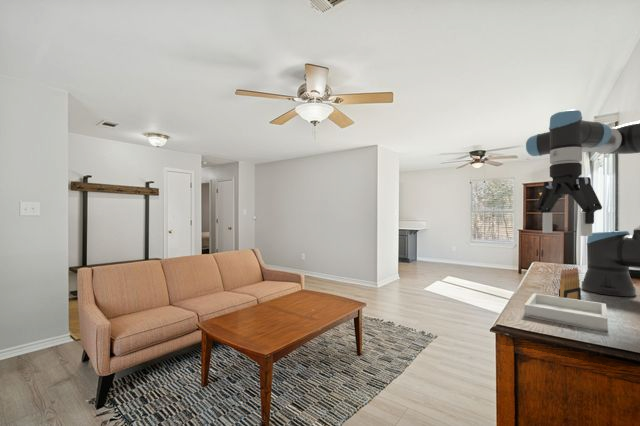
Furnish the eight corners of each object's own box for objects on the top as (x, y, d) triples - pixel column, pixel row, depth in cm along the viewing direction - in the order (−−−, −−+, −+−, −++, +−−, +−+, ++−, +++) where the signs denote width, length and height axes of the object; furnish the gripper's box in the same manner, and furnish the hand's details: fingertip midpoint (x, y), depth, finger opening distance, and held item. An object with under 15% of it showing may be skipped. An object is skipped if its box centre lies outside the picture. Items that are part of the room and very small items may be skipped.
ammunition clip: (564, 306, 101) (564, 270, 101) (558, 304, 103) (558, 269, 103) (581, 302, 106) (581, 267, 106) (574, 300, 107) (574, 266, 107)
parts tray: (533, 303, 104) (533, 293, 104) (605, 315, 91) (605, 303, 91) (524, 316, 90) (524, 304, 90) (607, 332, 78) (607, 318, 78)
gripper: (523, 169, 103) (523, 231, 103) (592, 155, 78) (592, 237, 78) (544, 169, 104) (544, 231, 104) (620, 155, 79) (620, 237, 79)
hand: (565, 234), depth 91 cm, fingers open, 13 cm apart
